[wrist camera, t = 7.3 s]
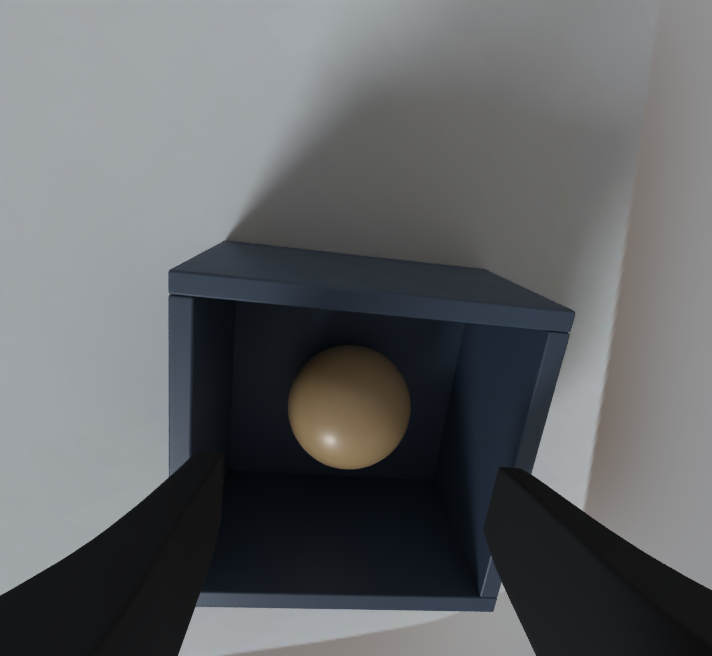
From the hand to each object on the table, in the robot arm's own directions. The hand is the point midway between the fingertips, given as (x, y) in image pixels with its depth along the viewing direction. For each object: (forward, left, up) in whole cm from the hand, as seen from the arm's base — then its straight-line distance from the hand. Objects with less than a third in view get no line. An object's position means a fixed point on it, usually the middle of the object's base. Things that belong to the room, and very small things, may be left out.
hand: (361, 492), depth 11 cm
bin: (0, 0, -7) cm, 7 cm away
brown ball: (0, 0, -7) cm, 7 cm away
